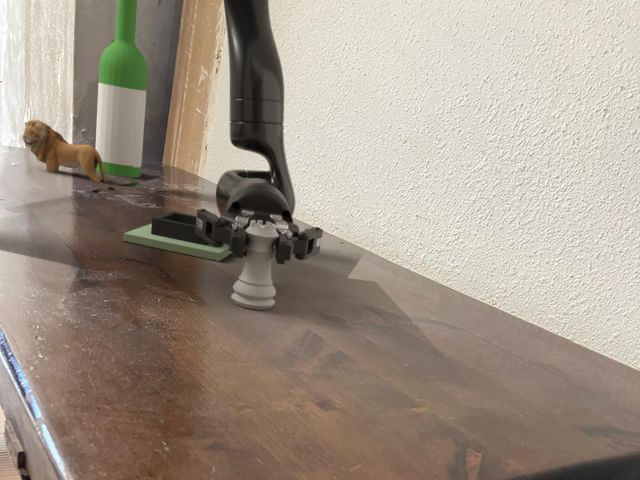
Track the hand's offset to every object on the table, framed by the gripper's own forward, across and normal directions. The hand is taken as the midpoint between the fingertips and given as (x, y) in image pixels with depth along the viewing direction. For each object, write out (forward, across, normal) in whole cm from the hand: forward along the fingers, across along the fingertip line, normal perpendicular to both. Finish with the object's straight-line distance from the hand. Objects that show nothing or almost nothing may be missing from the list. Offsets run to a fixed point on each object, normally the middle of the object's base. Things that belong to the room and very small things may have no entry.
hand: (261, 250), depth 69 cm
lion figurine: (-56, -29, +6) cm, 64 cm away
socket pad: (-27, -8, +6) cm, 29 cm away
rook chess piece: (-3, 0, +6) cm, 7 cm away
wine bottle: (-68, -23, +6) cm, 72 cm away
